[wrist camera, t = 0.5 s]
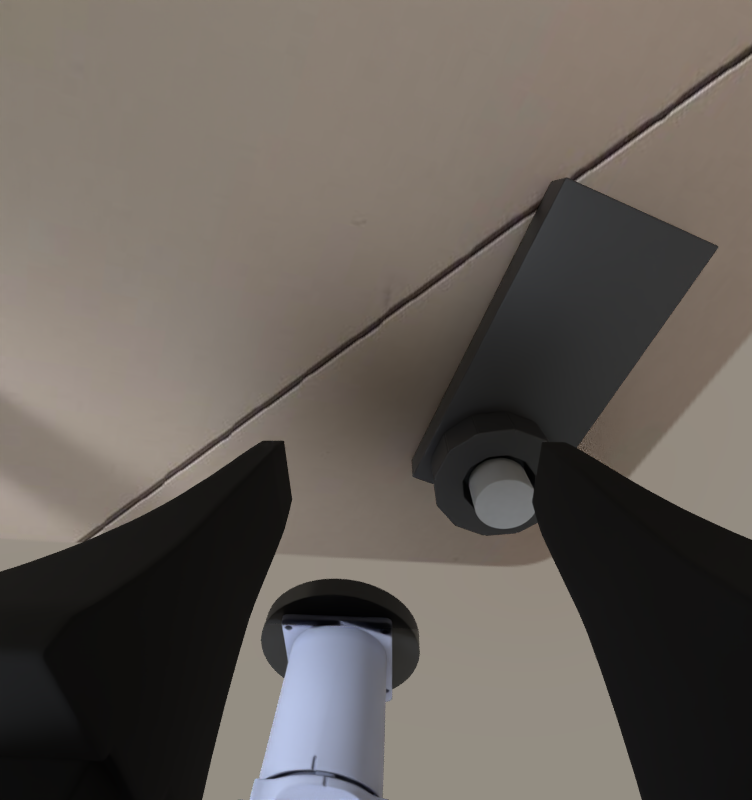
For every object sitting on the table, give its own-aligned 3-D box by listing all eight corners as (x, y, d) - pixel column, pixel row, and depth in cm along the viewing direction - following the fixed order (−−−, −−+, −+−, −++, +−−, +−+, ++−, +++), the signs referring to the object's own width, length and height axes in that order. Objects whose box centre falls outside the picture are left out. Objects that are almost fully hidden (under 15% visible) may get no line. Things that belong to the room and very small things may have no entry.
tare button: (508, 510, 17) (518, 536, 16) (458, 493, 17) (464, 517, 16) (537, 468, 16) (550, 492, 15) (484, 449, 16) (493, 471, 15)
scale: (513, 508, 20) (531, 552, 18) (406, 470, 20) (407, 510, 17) (692, 244, 15) (758, 249, 12) (551, 180, 14) (587, 171, 12)
